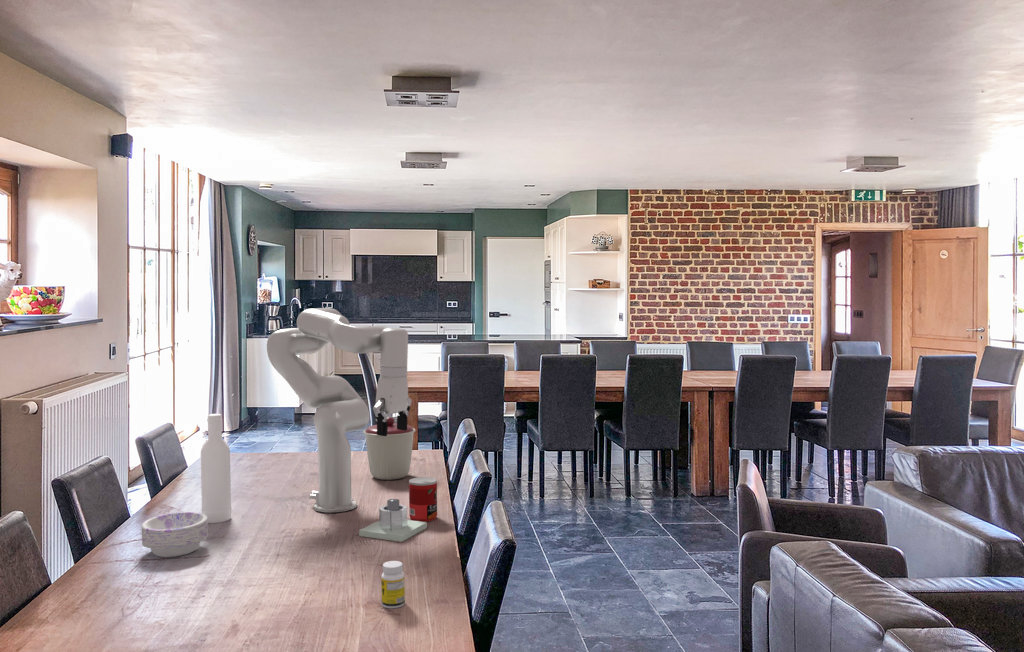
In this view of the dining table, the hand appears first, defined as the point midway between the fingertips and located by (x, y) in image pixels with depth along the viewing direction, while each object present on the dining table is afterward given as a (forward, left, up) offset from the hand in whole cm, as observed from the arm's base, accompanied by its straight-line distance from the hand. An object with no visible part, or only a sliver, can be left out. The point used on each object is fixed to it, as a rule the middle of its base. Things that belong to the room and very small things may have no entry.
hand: (392, 432), depth 217 cm
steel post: (+6, -10, -23) cm, 26 cm away
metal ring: (+6, -10, -23) cm, 26 cm away
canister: (-29, +44, -25) cm, 58 cm away
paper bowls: (-36, -44, -25) cm, 62 cm away
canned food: (+7, +4, -25) cm, 26 cm away
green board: (+6, -10, -25) cm, 27 cm away
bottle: (-47, -19, -25) cm, 56 cm away
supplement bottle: (+32, -52, -25) cm, 66 cm away
